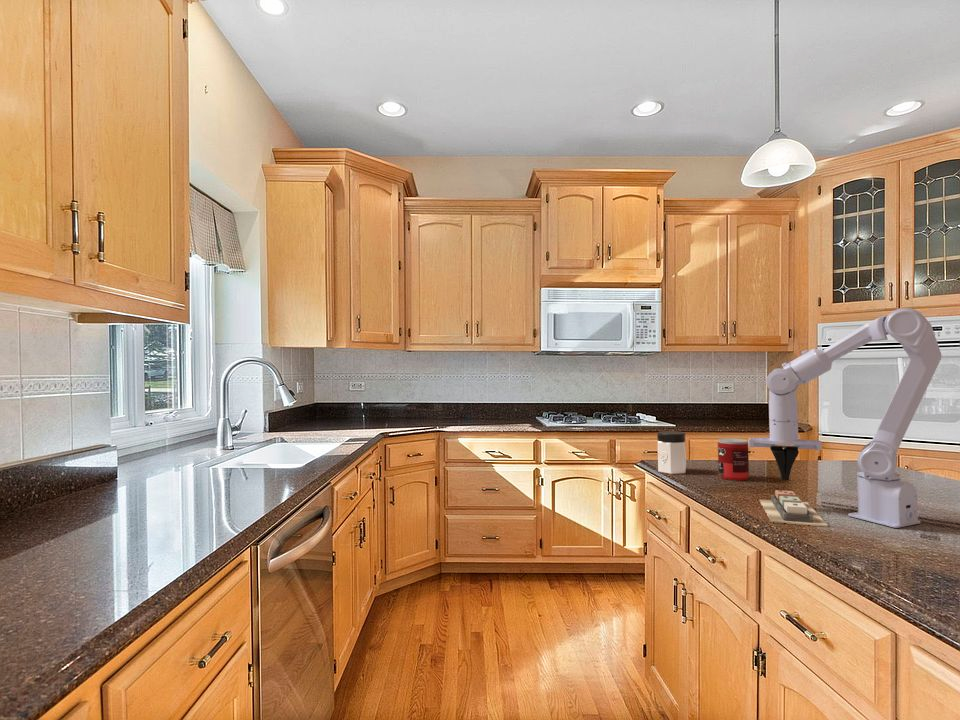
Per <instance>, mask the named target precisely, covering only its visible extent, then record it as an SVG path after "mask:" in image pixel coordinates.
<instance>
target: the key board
mask: <svg viewBox="0 0 960 720" xmlns="http://www.w3.org/2000/svg"><path fill="white" fill-rule="evenodd" d="M758 502H759V503H760V505H761V506H763V507H762V508H763V510H764V512H765V513H767V514H766V515H767V517H768V519H769V521H770V522H772V523H773V522H774V523H775V524H783V523H786V524H785V525H795V524H796V525H795V526H797V525H798V526H808V525H810V526H811V527H821V526H822V528H824V527H825V528H829V527H828V526H829V525H828V523H827V522H826V521H825V520H824V519H823V518H822V517H821V516H820V515H819V513H817V511H816V510H815V509H814V508H813V506H811V505H810V504H809V502H807V501H801V503H803V504H804V505H805V506H806V507H807V514H794V513H787V512H786V510H785V509H784V506H782V505H781V503H780V500H778V499H777V498H776V496H775V494H771V495H770V499H759V500H758ZM810 526H809V527H810Z"/></svg>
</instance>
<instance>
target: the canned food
mask: <svg viewBox="0 0 960 720" xmlns="http://www.w3.org/2000/svg"><path fill="white" fill-rule="evenodd" d="M717 456H718V457H717V463H718V467H717V468H718V476H719V478H720V477H721V478H720V479H722V478H723V479H722V480H725V479H728V480H727V481H732V480H736V481H735V482H737V481H738V482H743V480H745V481H747V480H748V479H749V477H750V470H749V469H750V465H749V464H750V463H749V440H748V439H743V438H736V437H735V438H733V437H731V438H727V437H726V438H724V437H723V438H722V437H721V438H718V439H717Z"/></svg>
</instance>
